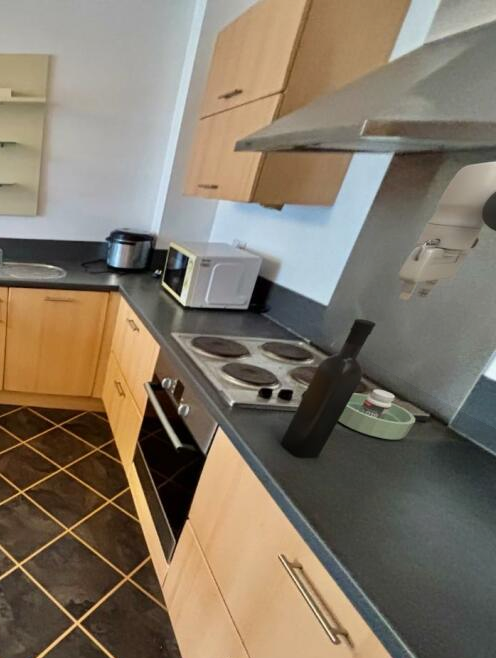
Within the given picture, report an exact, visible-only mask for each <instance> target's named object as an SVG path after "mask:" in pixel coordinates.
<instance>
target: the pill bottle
mask: <svg viewBox="0 0 496 658" xmlns="http://www.w3.org/2000/svg"><path fill="white" fill-rule="evenodd" d="M395 397H396V396H395V395H394V393H391V392H389V391H386V390H383V389H373V390H372V392H371V394H370V395H369V397H367V398H366V400H365V402H364V403H363V405H362V407H361V408H360V410H359V411H360V412H362V413H364V414H367V415H370V416H373V417H376V418H379V419H383V418H384V417H385V415H386V414H387V412H388V410H389V409H390V407H391V403H393V401H394V399H395Z"/></svg>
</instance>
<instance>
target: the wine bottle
mask: <svg viewBox="0 0 496 658" xmlns="http://www.w3.org/2000/svg"><path fill="white" fill-rule="evenodd" d="M374 327H376V322H374V321H371V320H368V319H362V318H357V319H355V320H354V321H353V324H352V325H351V327H350V332H349V333H348V335H347V337H346V339H345V342H344V343H343V346H342V347H341V348H340V350H339V353H337V354H333V355H330V356H328V357H326V358H325V359H323V360H322V361H321V362H320V363H319V364H318V366H317V368H316V370H315V372H314V373H313V375H312V378H311V380H310V382H309V384H308V386H307V388H306V390H305V392H304V394H303V396H302V397H301V400H300V403H299V404H298V407H297V408H296V410H295V412H294V415H293V416H292V419H291V420H290V423H289V425H288V427H287V428H286V431H285V433H284V435H283V437H282V439H281V441H280V444H281V445H282V447H284V448H285V449H286V450H287V451H289V453H291V454H292V455H293V456H294V457H296V458H319V457H320V455H321V453H322V451H323V450H324V448H325V446H326V444H327V442H328V440H329V439H330V437H331V435H332V433H333V431H334V429H335V427H336V425H337V424H338V422H339V421H338V420H339V418H340V417H341V415H342V413H343V411H344V409H345V408H346V406H347V404H348V402H349V400H350V398H351V397H352V395H353V393H355V391H356V389H357V388H358V386H359V384H360V382H361V380H362V378H363V372H364V369H363V366H362V364H361V363H360V361H359V360H358V356H359V355H360V352H361V351H362V348H363V347H364V345H365V343H366V341H367V340H368V337H369V336H370V335H372V332H373V330H374Z"/></svg>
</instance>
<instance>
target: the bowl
mask: <svg viewBox="0 0 496 658" xmlns="http://www.w3.org/2000/svg"><path fill="white" fill-rule="evenodd" d="M369 396H370V395H369V394H364V393H358V392H354V393H353V395H352V397H351V398H350V400H349V402H348V404H347V406H346V408H345V409H344V411H343V413H342V415H341V417H340V418H339V420H338V422H339V423H340V424H343V425H344V426H346V427H347V428H349V429H351V430H354V431H356V432H359V433H361V434H363V435H368V436H371V437H375V438H379V439H385V440H392V441H393V440H402V439H404V438H405V437H407V435H408V434H409V432H410V430H411V429H412V427H413V426H414V425H415V422H416V417H415V415H413V413H412V412H410V411H409V410H407V409H406V408H404V407H401V406H399V405H398V404H396V403H393V402H391V407H390V409H389V410H388V412H387V414H386V415H385V417H384V418H383V419H379V418H376V417H373V416H370V415H367V414H364V413H362V412H360V411H357V410H360V408H361V407H362V405H363V403H364V402H365V400H366V398H367V397H369Z"/></svg>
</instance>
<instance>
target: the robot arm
mask: <svg viewBox="0 0 496 658" xmlns="http://www.w3.org/2000/svg"><path fill="white" fill-rule="evenodd" d="M485 225H486V226H487V227H488V228H489V229H491V230H493V231H494V232H496V159H486V160H479V161H474V162H471V163H468V164H466V165H465V166H463V167H461V169H459V170H458V171H457V172H456V174H455V175H454V176H453V178H452V179H451V180H450V181H449V184H448V185H447V187H446V189H445V190H444V192H443V194H442V195H441V197H440V199H439V201H438V203H437V209H436V211H435V213H434V214H433V216H432V217H431V218H430V219H429V220H428V222H427V224H426V225H425V227H424V229H423V231H422V232H421V234H420V237H419V238H418V241H417V242H416V244H417V245H420V246H417V247H415V248H414V249H413V250H412V251H411V252H410V254H409V255H408V257H407V258H406V260H405V261H404V263H403V265H402V267H401V268H400V270H399V271H398V273H397V274H398V275H397V279H398V280H399V281H403V284H402V289H401V292H400V294H399V297H398V299H399V300H403V301H409V300H411V299H412V297H413V295H414V294H415V293H414V291H415V289H416V287H418V285H419V283H422V282H424V284H423V286H422V287H421V288H420V289H419V290H418V292H417V294H416V296H417V297H420V298H427V297H429V296H430V295H431V292H432V291H433V290H434V289H435V288H436V287H437V286H438V284H439V283H440V282H441V280H447V279H448V280H449V279H450V278H452V277H453V276H454V275H455V274H456V272H457V271H458V270H459V268H460V267H461V265H462V264H463V262H464V261H465V260H466V258H467V257H468V255H469V253H470V250H473V249H475V248H476V247H477V246H478V244H479V242H480V238H479V234H480V232H481V230H482V229H483V227H484V226H485Z"/></svg>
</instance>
